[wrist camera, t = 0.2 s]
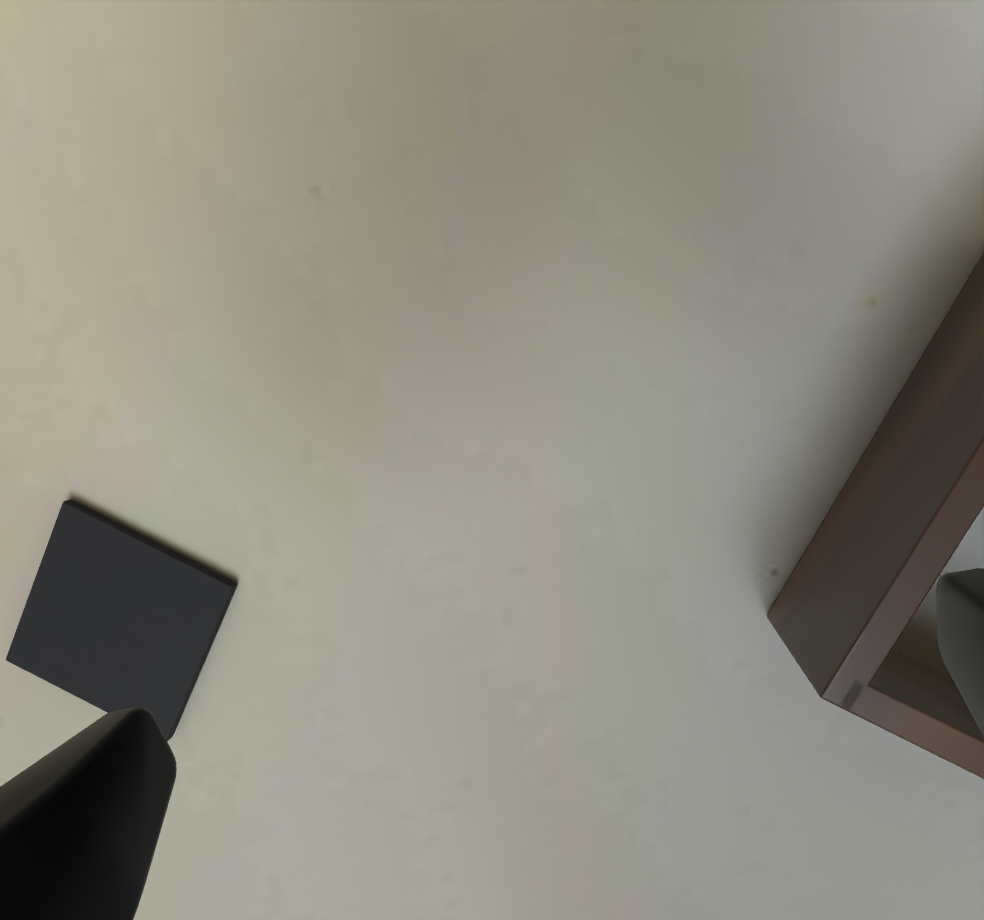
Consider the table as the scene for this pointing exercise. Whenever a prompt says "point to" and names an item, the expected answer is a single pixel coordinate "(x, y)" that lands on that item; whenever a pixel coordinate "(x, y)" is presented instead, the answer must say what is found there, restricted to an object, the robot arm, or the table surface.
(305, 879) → the table surface
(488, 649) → the table surface
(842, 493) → the cubby
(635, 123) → the table surface
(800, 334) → the table surface
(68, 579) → the mat
